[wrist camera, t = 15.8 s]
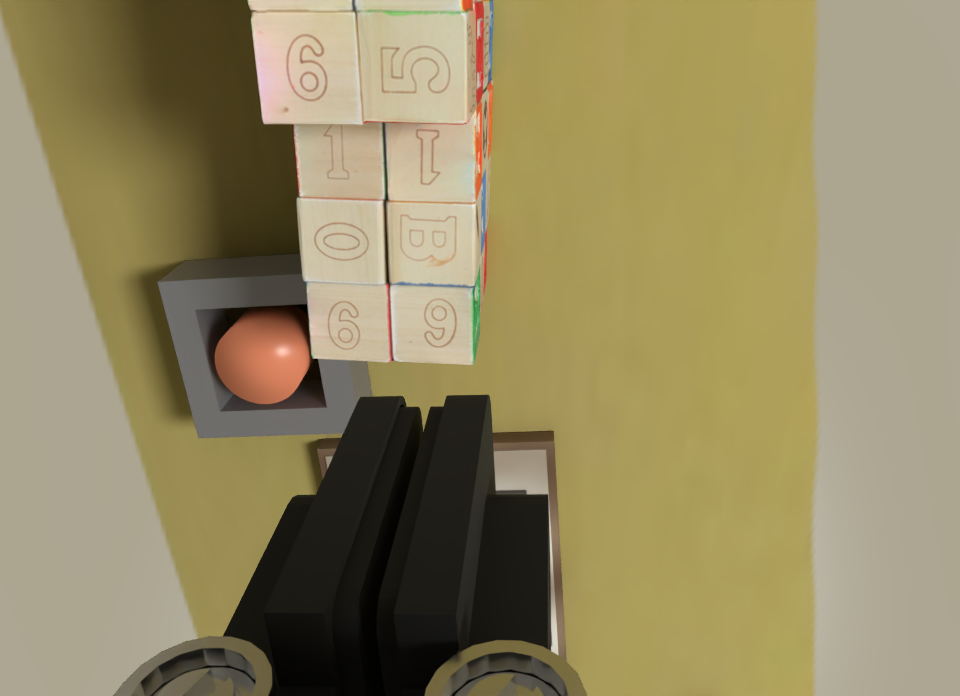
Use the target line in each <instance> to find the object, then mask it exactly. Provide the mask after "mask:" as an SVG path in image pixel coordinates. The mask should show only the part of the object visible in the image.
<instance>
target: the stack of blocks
mask: <svg viewBox="0 0 960 696" xmlns="http://www.w3.org/2000/svg"><path fill="white" fill-rule="evenodd" d="M247 1H248V5H249V7H250V9H251V12H252V15H251V29H252V38H253V46H254V55H255V63H256V72H257V82H258V90H259V98H260V106H261V116H262V121H263V123H264V124H293V134H294V147H295V159H296V172H297V185H298V194H299V196H298V197H297V199H296V203H297V218H298V232H299V245H300V256H301V268H302V278H303V280H304V281H305V282H306V287H307V307H308V319H309V332H310V345H311V356H312V358H313V359H331V360H356V361H370V362H390V361H393V360H394V361H401V362H418V363H443V364H461V365H472V364H473V363H474V361H475V357H476V352H477V347H478V341H479V335H480V317H481V311H482V305H483V295H484V292H485V284H486V254H487V225H488V219H489V202H490V161H491V156H490V151H491V133H492V94H493V81H492V78H491V67H492V32H493V0H247Z"/></svg>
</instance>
